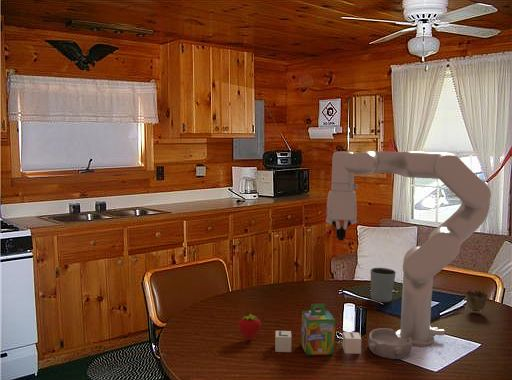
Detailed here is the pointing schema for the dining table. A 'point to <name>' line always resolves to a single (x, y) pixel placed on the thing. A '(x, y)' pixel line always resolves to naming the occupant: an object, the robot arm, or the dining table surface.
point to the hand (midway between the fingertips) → (340, 239)
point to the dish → (389, 344)
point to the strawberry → (249, 326)
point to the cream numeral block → (352, 342)
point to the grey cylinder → (382, 284)
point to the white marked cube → (283, 341)
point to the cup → (476, 301)
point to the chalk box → (318, 331)
